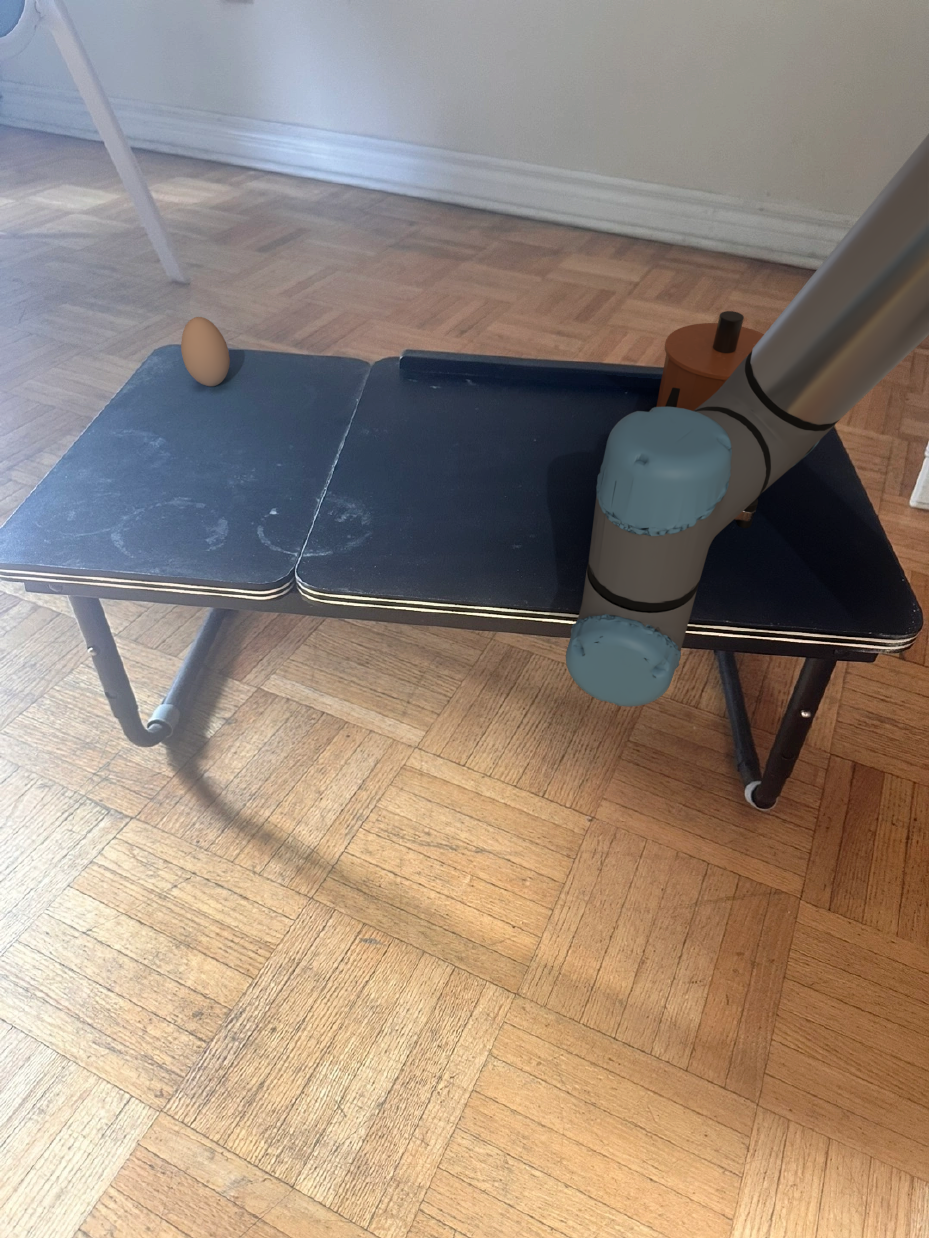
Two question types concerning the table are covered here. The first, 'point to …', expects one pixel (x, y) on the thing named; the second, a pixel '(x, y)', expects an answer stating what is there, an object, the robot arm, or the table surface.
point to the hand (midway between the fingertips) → (704, 406)
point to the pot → (686, 386)
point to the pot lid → (712, 346)
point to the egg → (205, 352)
